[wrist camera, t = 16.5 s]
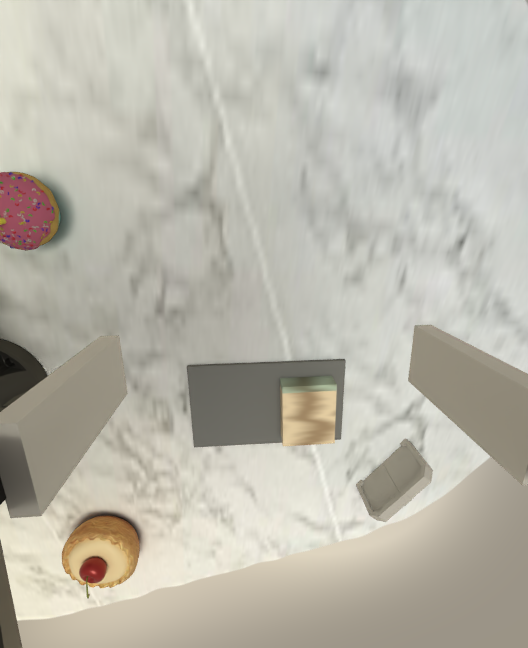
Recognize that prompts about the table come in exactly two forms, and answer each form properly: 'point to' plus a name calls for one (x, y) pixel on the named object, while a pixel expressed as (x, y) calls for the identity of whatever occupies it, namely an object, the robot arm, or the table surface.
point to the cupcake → (26, 211)
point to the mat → (249, 399)
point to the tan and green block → (308, 410)
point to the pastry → (101, 552)
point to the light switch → (395, 482)
